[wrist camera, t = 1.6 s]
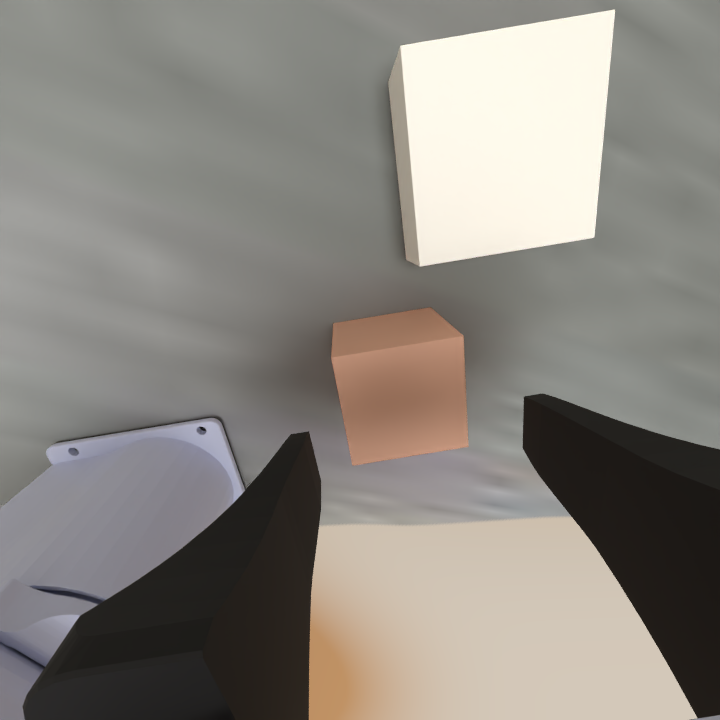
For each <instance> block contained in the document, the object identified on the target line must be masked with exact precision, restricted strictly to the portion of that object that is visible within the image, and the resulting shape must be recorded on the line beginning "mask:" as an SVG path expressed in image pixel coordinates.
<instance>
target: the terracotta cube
mask: <svg viewBox="0 0 720 720" xmlns="http://www.w3.org/2000/svg"><path fill="white" fill-rule="evenodd" d="M331 359H332V364H333V369H334V374H335V379H336V384H337V389H338V394H339V400H340V405H341V410H342V415H343V420H344V425H345V430H346V435H347V440H348V445H349V450H350V455H351V460H352V465H353V466H354V465H360V464H366V463H372V462H378V461H384V460H390V459H396V458H403V457H409V456H415V455H421V454H427V453H433V452H439V451H445V450H451V449H457V448H464V447H468V427H467V404H466V381H465V359H464V336H463V335H462V334H461V333H459V332H458V331H457V330H456V329H455V328H454V327H453V326H452V325H450V324H449V323H448V322H447V321H446V320H445V319H444V318H442V317H441V316H440V315H439V314H438V313H437V312H436V311H434V310H433V309H432V308H431V307H429V308H423V309H417V310H411V311H405V312H399V313H392V314H386V315H380V316H374V317H368V318H362V319H356V320H350V321H344V322H338V323H333V336H332V353H331Z"/></svg>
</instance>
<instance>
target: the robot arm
mask: <svg viewBox="0 0 720 720" xmlns="http://www.w3.org/2000/svg"><path fill="white" fill-rule="evenodd" d="M199 427H204V428H205V429H206V431H203V430H201V429H200V428H199ZM74 448H75V449H77V450H78V451H76V450H75V449H74ZM523 449H524V451H525V453H526V455H527V456H528V458H529V460H530V462H531V463H532V465H533V466H534V468H535V470H536V471H537V473H538V474H539V476H540V477H541V478H542V480H543V481H544V482H545V484H546V485H547V486H548V487H549V489H550V490H551V491H552V492H553V494H554V495H555V496H556V498H557V499H558V500H559V501H560V503H561V504H562V505H563V506H564V507H565V509H566V510H567V511H568V512H569V514H570V515H571V516H572V517H573V519H574V520H575V521H576V522H577V524H578V525H579V526H580V527H581V529H582V530H583V531H584V532H585V534H586V535H587V536H588V538H589V539H590V540H591V542H592V543H593V544H594V546H595V547H596V549H597V550H598V552H599V553H600V555H601V556H602V557H603V559H604V561H605V562H606V564H607V565H608V567H609V568H610V570H611V571H612V573H613V575H614V576H615V577H616V579H617V581H618V582H619V584H620V585H621V587H622V589H623V590H624V592H625V593H626V595H627V597H628V598H629V600H630V601H631V603H632V605H633V606H634V608H635V610H636V611H637V613H638V614H639V616H640V617H641V619H642V621H643V623H644V624H645V626H646V628H647V629H648V631H649V633H650V634H651V636H652V638H653V640H654V641H655V643H656V645H657V646H658V648H659V650H660V651H661V653H662V655H663V657H664V658H665V660H666V662H667V664H668V665H669V667H670V669H671V671H672V672H673V674H674V676H675V678H676V680H677V681H678V683H679V685H680V687H681V689H682V690H683V692H684V694H685V696H686V698H687V699H688V701H689V703H690V705H691V707H692V709H693V711H694V712H695V714H696V716H697V719H691V720H720V450H719V449H715V448H710V447H706V446H702V445H698V444H694V443H691V442H687V441H683V440H679V439H675V438H672V437H668V436H665V435H661V434H658V433H654V432H651V431H648V430H645V429H642V428H639V427H636V426H633V425H630V424H627V423H624V422H621V421H618V420H615V419H612V418H610V417H607V416H604V415H601V414H599V413H596V412H593V411H591V410H588V409H585V408H583V407H580V406H577V405H575V404H572V403H569V402H567V401H564V400H561V399H558V398H555V397H552V396H549V395H546V394H537V395H531V396H525V397H524V420H523ZM46 455H47V457H48V459H49V460H50V462H51V464H52V466H50V467H49V468H48V469H47V470H46V471H44V472H43V473H42V474H41V475H39V476H38V477H37V478H36V479H35V480H33V481H32V482H31V483H30V484H29V485H27V486H26V487H25V488H24V489H22V490H21V491H20V492H19V493H18V494H16V495H15V496H14V497H13V498H12V499H10V500H9V501H8V502H7V503H6V504H4V505H3V506H2V507H1V508H0V720H309V642H310V606H311V587H312V576H313V568H314V560H315V553H316V545H317V537H318V529H319V521H320V512H321V479H320V475H319V471H318V467H317V463H316V459H315V455H314V450H313V446H312V442H311V438H310V434H309V432H303V433H297V434H291V435H290V436H289V437H288V439H287V440H286V441H285V442H284V444H283V445H282V446H281V448H280V449H279V450H278V452H277V453H276V454H275V455H274V457H273V458H272V459H271V461H270V462H269V463H268V464H267V466H266V467H265V468H264V469H263V471H262V472H261V473H260V474H259V475H258V477H257V478H256V479H255V480H254V481H253V482H252V483H251V484H250V486H249V487H248V488H247V489H246V490H245V489H244V486H243V483H242V480H241V477H240V474H239V472H238V469H237V466H236V463H235V460H234V457H233V454H232V452H231V449H230V446H229V443H228V440H227V437H226V435H225V432H224V429H223V426H222V424H221V422H220V421H219V420H218V419H215V418H207V419H201V420H195V421H189V422H183V423H176V424H170V425H164V426H158V427H152V428H146V429H140V430H134V431H128V432H122V433H116V434H110V435H104V436H97V437H91V438H85V439H79V440H73V441H67V442H61V443H55V444H53V445H51V446H50V447H49V448H48V449H47V450H46Z"/></svg>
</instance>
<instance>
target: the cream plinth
mask: <svg viewBox="0 0 720 720" xmlns="http://www.w3.org/2000/svg"><path fill="white" fill-rule="evenodd" d="M614 15H615V10H610V11H604V12H598V13H592V14H586V15H580V16H574V17H568V18H563V19H557V20H551V21H545V22H539V23H533V24H527V25H521V26H515V27H509V28H503V29H497V30H491V31H485V32H479V33H473V34H467V35H462V36H456V37H450V38H444V39H438V40H432V41H426V42H420V43H414V44H408V45H402V46H400V49H399V52H398V55H397V58H396V61H395V64H394V66H393V69H392V72H391V75H390V78H389V81H388V86H389V96H390V106H391V115H392V125H393V135H394V145H395V155H396V165H397V175H398V185H399V194H400V204H401V214H402V224H403V234H404V244H405V254H406V260H407V261H409V262H412V263H414V264H416V265H418V266H426V265H432V264H438V263H444V262H450V261H456V260H462V259H468V258H474V257H480V256H486V255H492V254H498V253H504V252H510V251H516V250H523V249H529V248H535V247H541V246H547V245H553V244H559V243H565V242H571V241H577V240H583V239H589V238H594V234H595V223H596V212H597V201H598V190H599V179H600V168H601V158H602V147H603V136H604V125H605V114H606V103H607V92H608V81H609V70H610V59H611V48H612V37H613V26H614Z"/></svg>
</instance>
